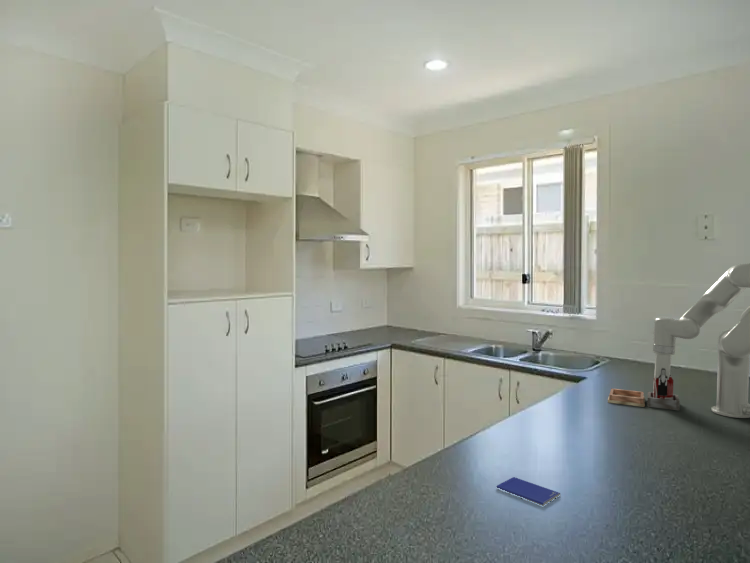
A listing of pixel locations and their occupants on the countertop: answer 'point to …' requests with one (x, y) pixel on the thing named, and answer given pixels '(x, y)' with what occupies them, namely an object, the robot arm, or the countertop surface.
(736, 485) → the countertop surface
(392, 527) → the countertop surface
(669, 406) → the dock
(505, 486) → the hard drive
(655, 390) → the soda can
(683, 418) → the countertop surface
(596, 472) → the countertop surface
